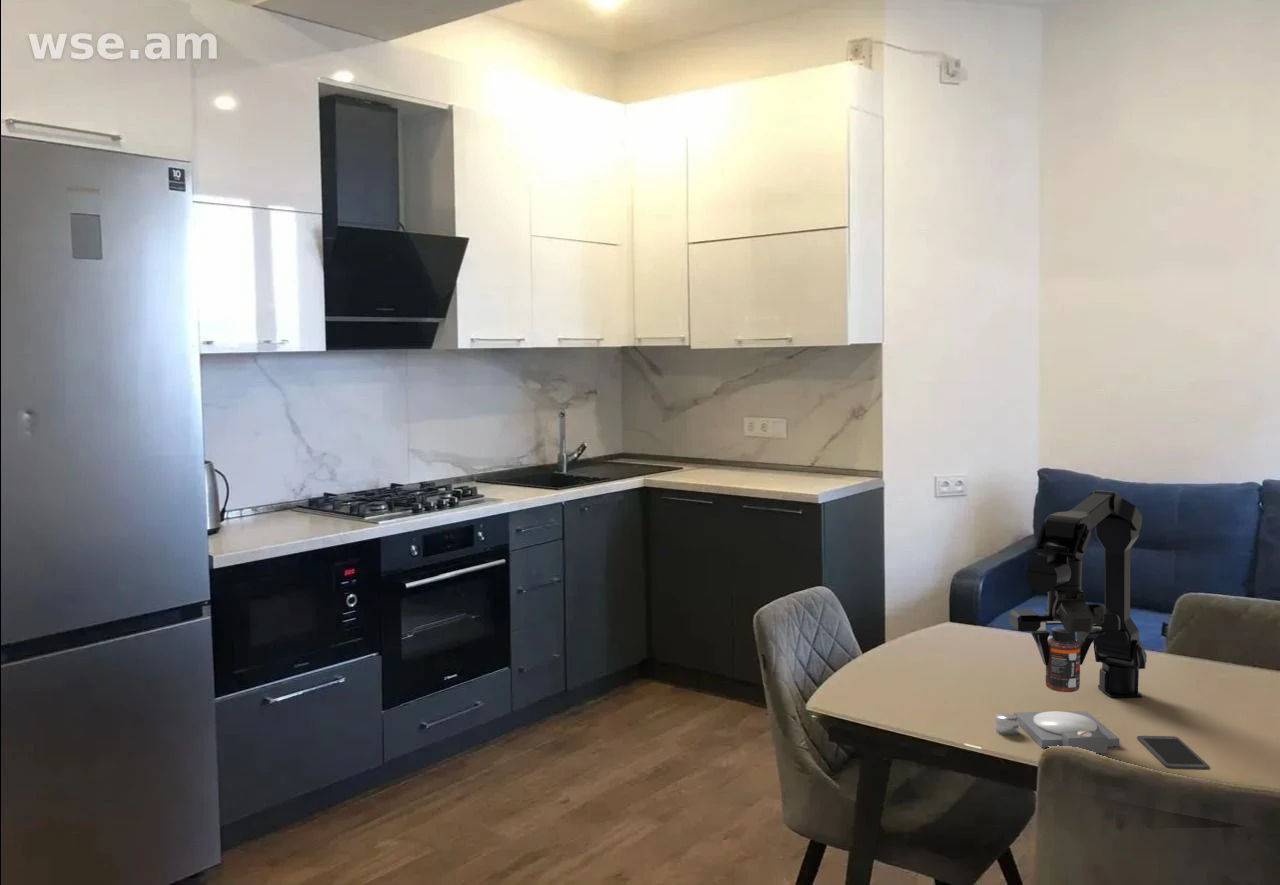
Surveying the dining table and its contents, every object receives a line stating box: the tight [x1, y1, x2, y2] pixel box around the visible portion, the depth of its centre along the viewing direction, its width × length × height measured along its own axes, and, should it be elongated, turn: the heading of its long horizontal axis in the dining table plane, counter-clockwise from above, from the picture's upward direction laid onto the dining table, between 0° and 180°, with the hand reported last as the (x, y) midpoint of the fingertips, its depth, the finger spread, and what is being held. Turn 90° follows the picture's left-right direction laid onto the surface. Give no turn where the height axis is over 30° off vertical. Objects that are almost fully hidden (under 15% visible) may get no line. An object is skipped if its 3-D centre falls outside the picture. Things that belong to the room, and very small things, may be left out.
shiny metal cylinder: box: [995, 712, 1019, 737], centre depth 194 cm, size 4×4×3 cm
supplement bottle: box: [1045, 626, 1081, 693], centre depth 192 cm, size 6×6×11 cm
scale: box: [1013, 710, 1120, 755], centre depth 191 cm, size 14×17×3 cm
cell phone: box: [1136, 735, 1210, 770], centre depth 183 cm, size 7×14×1 cm, turn 175°
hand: (1062, 664), depth 192 cm, fingers closed on supplement bottle, 6 cm apart
